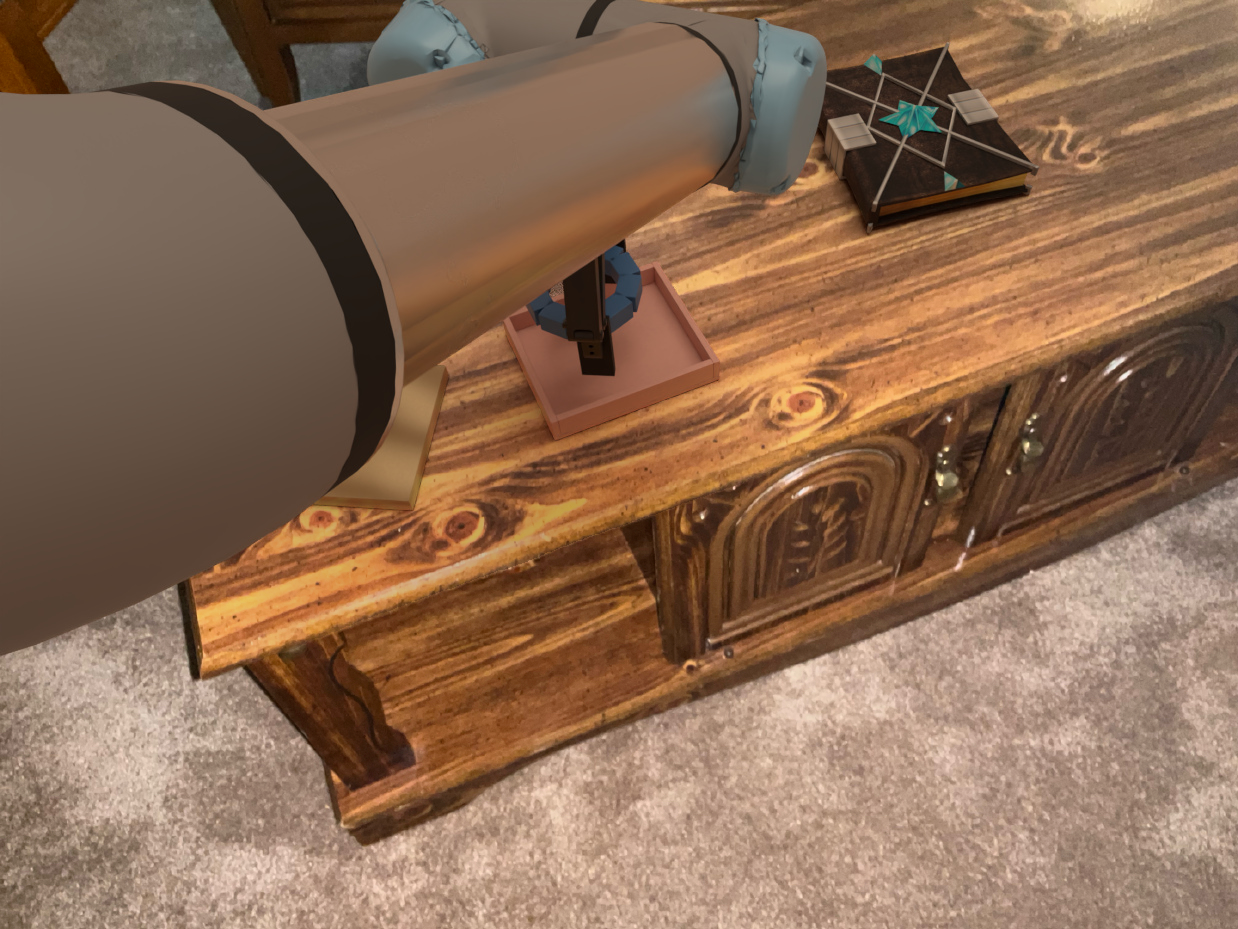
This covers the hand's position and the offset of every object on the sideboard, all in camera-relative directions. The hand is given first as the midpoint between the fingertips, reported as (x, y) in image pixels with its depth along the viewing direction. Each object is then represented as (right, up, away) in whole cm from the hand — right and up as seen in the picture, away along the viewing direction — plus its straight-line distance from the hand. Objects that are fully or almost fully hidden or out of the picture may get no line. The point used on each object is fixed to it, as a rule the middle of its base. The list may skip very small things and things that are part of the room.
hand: (606, 324), depth 82 cm
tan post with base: (-22, -9, 0) cm, 24 cm away
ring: (-2, +2, -3) cm, 4 cm away
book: (+30, +20, +16) cm, 40 cm away
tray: (0, -2, +3) cm, 4 cm away
